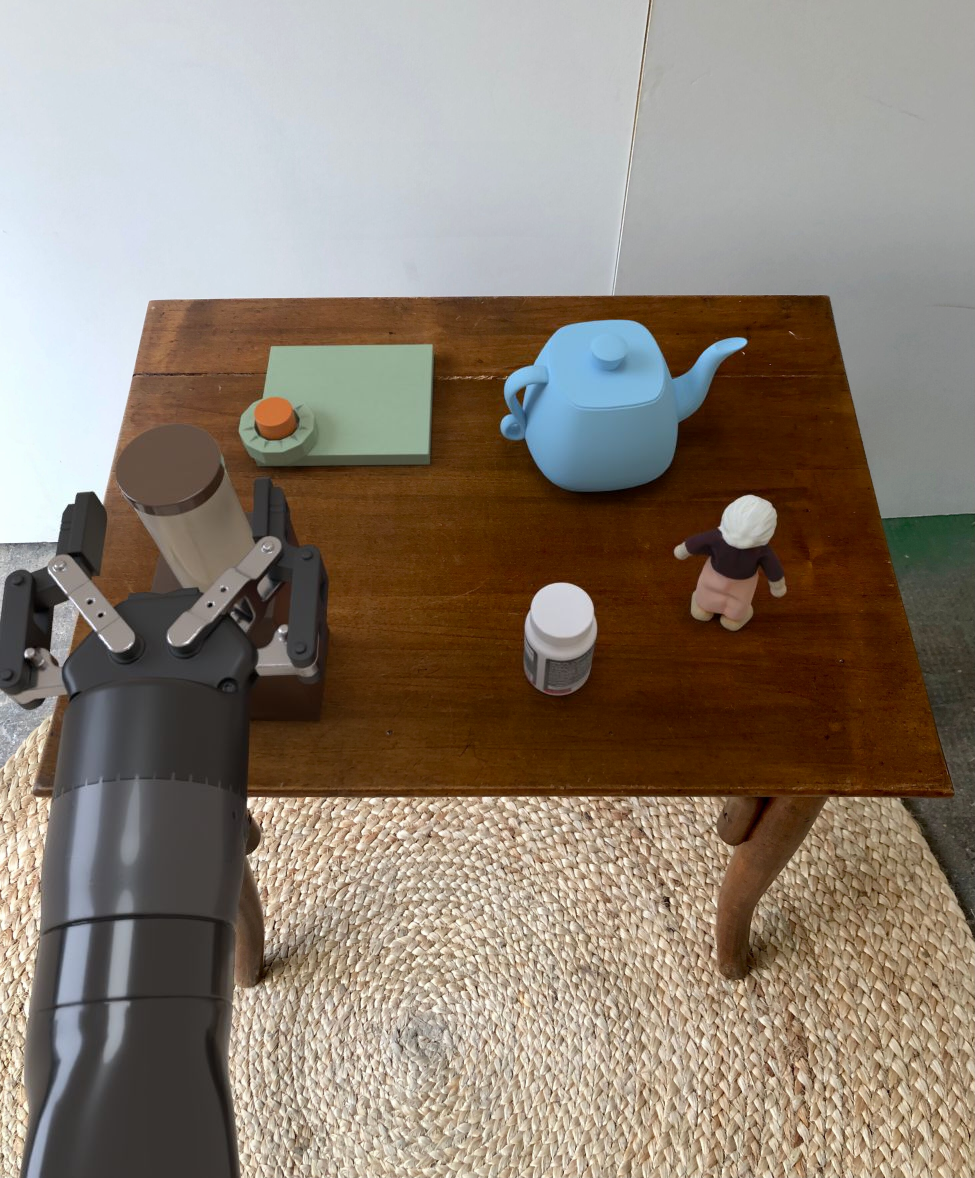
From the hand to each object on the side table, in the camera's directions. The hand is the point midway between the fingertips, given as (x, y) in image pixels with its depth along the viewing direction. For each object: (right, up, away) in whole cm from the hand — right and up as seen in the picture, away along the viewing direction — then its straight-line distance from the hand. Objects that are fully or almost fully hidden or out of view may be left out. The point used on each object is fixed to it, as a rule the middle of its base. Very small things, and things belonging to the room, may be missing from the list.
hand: (179, 493), depth 45 cm
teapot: (+25, +7, +30) cm, 40 cm away
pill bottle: (+20, -10, +19) cm, 30 cm away
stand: (0, -11, +19) cm, 22 cm away
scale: (+4, +10, +31) cm, 33 cm away
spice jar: (0, -3, +6) cm, 7 cm away
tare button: (-1, +8, +27) cm, 28 cm away
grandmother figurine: (+32, -6, +22) cm, 39 cm away
